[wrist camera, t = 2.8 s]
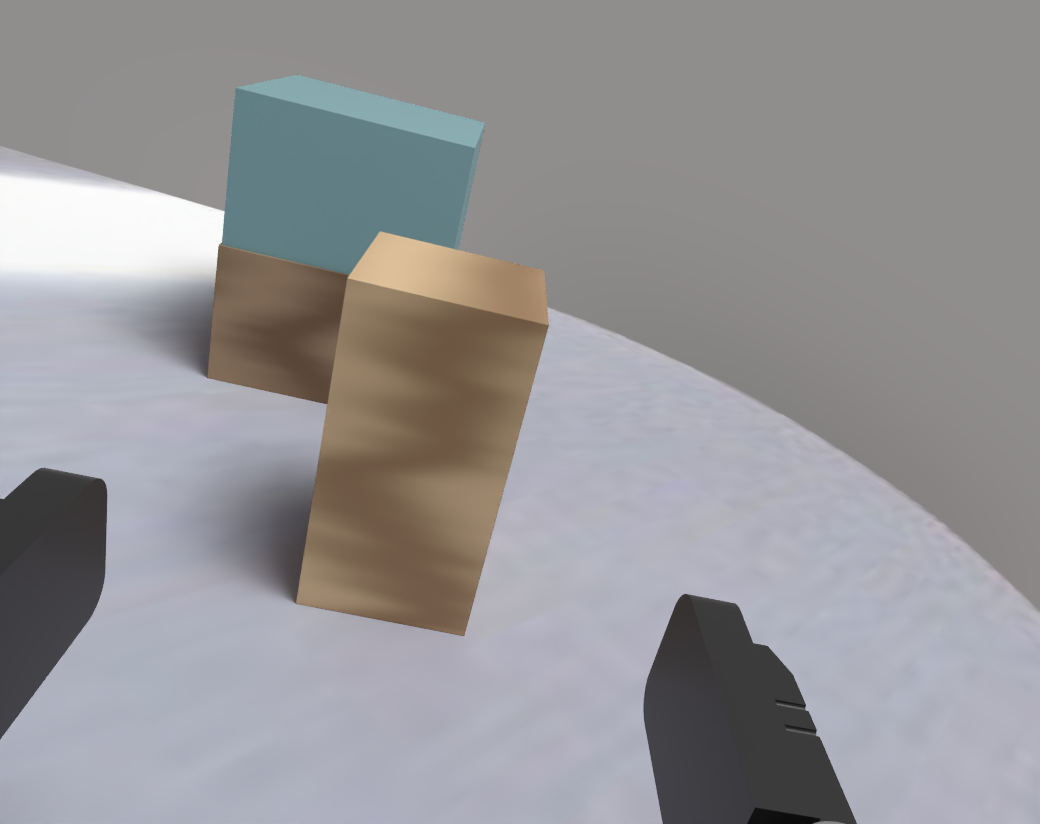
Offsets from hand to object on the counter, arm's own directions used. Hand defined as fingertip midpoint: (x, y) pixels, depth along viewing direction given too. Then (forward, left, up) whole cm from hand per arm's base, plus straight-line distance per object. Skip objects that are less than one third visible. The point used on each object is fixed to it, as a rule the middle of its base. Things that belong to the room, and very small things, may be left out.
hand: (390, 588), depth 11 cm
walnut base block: (-5, +27, -9) cm, 29 cm away
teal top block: (-5, +28, -3) cm, 28 cm away
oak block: (0, +12, -9) cm, 15 cm away
